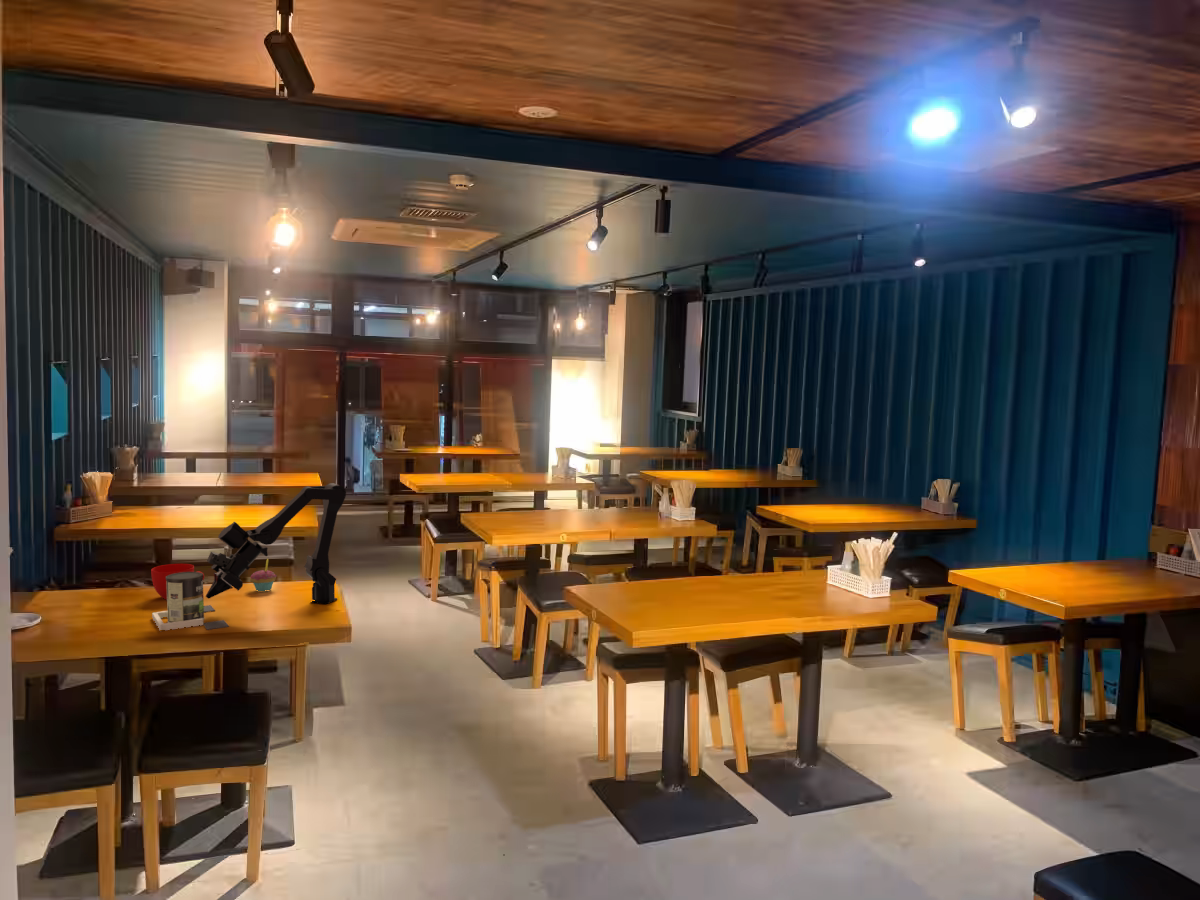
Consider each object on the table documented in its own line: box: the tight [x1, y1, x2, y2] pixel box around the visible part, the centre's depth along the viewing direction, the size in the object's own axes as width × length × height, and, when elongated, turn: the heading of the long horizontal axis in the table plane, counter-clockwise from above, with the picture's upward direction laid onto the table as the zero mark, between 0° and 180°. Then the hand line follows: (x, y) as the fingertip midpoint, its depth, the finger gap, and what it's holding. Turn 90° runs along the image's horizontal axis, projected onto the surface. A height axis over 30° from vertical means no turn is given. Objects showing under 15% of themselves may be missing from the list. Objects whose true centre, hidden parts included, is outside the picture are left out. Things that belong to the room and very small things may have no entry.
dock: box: [151, 610, 204, 631], centre depth 264 cm, size 12×15×2 cm
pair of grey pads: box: [202, 604, 230, 631], centre depth 269 cm, size 6×27×1 cm, turn 35°
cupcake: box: [249, 558, 277, 591], centre depth 301 cm, size 9×8×12 cm
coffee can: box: [166, 571, 205, 623], centre depth 264 cm, size 10×10×14 cm
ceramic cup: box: [150, 563, 205, 600], centre depth 291 cm, size 13×17×10 cm
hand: (206, 597), depth 268 cm, fingers closed
